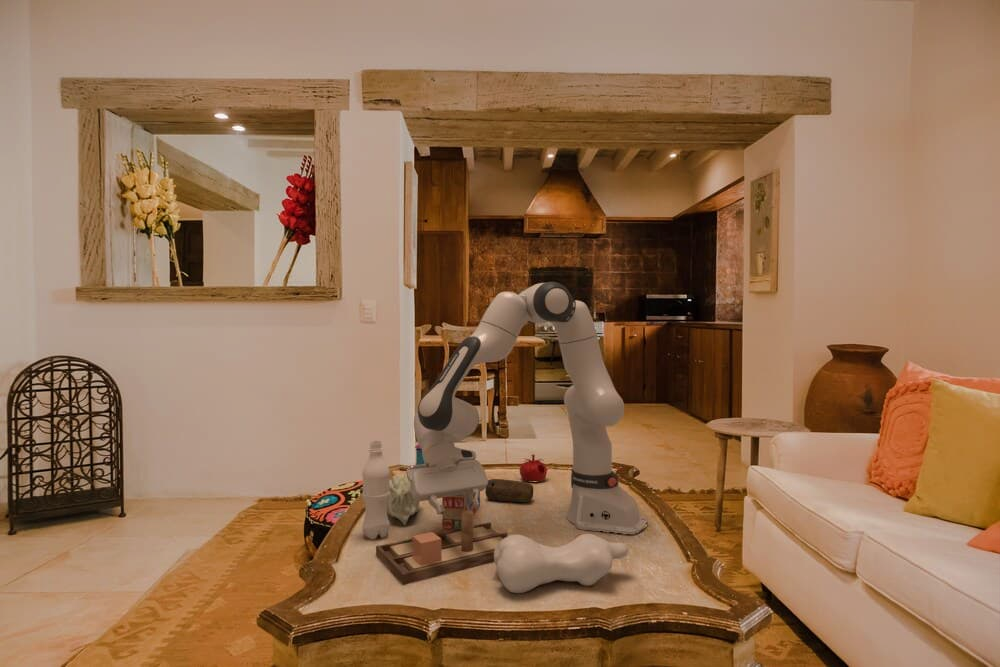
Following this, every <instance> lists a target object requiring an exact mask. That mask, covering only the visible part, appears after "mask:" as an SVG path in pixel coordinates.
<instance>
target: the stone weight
mask: <svg viewBox="0 0 1000 667" xmlns="http://www.w3.org/2000/svg"><path fill="white" fill-rule="evenodd" d="M484 490H485V496H486V498H487V499H490V500H494V501H500V502H509V503H510V502H511V503H530V501H532V499H533V497H534V486H533V485H532V484H531V483H530V482H526V481H519V480H513V479H511V480H510V479H505V478H504V479H503V478H502V479H501V478H490V479H488V484H487V486H486V488H485V489H484Z"/></svg>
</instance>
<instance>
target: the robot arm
mask: <svg viewBox="0 0 1000 667" xmlns="http://www.w3.org/2000/svg"><path fill="white" fill-rule="evenodd" d="M526 323H529V324H547V323H551V324H552V326H553V327H554V329H555V331H556V335H557V341H558V345H559V349H560V353H561V356H562V357H561V358H562V363H563V366H564V369H565V372H566V373H567V375H568V376H569V378H570V380H571V382H572V385H571V386H570V387H568V388H567V390H565V393H564V396H563V403H564V406H565V408H566V410H567V416H568V421H569V422H568V423H569V428H570V432H571V438H572V469H571V474H570V475H571V476H570V483H571V484H570V486H571V489H572V490H571V496H570V497H571V499H570V503H569V508H568V512H567V516H566V519H567V520H568V521H569V522H570V523H571V524H573V525H575V527H576V528H577V529H579V530H585V531H593V532H600V531H603V533H609V532H614V533H613V534H617V533H625V534H624V535H626V534H633V533H637V532H639V531H641V530H642V529H643V528H644V527H645V525H646V523H647V524H648V519H647V518H646V516H643V515H640V512H639V506H638V502H637V500H636V499H635V497H633V496H632V495H630V493H628V492H627V491H626V490H624V489H623V488H622V487H621V486H620V485H619V479H620V473H618V474H616V472H614V471H613V466H612V464H613V463H612V462H613V461H612V460H613V459H612V458H613V457H612V456H613V454H612V452H613V450H612V449H613V448H612V447H613V446H612V441H611V440H610V437H609V435H608V431H607V427H612V426H615V425H616V424H618V423H619V422H620V421H621V420H622V419H623V417H624V414H625V403H624V401H623V398H622V397H621V396H620V395H619V393H618V391H617V390H616V388H615V386H614V383H613V380H612V379H611V376H610V374H609V372H608V369H607V368H606V365H605V363H604V359H603V355H602V351H601V348H600V347H601V346H600V343H599V338H598V333H597V329H596V327H595V323H594V320H593V317H592V315H591V312H590V309H589V308H588V305H587V304H586V303H585V302H584V301H581V300H577V299H576V300H575V298H574V297H573V296H572V294H571V293H570V291H569V289H568V288H566V287H565V285H563V284H561V283H559V282H555V281H548V282H540V283H536V284H533V285H531V286H529V287H525V288H524V289H522V290H521V291H519V292H518V293H515V292H512V291H502V292H499V293H498V294H497V295H496V296H495V297H494V298H493V300H492V301H491V302H490V304H489V306H488V307H487V309H486V310H485V312H484V314H483V316H482V318H481V319H480V321H479V324H477V325H478V326H477V327H476V329H475V330H474V331H473V333H472V334H471V335H470V336H468V337H466V338H464V339H463V340H462V341H461V343H459V344H458V346H457V348H456V349H455V350H454V351H453V353H452V355H451V357H449V359H448V360H447V363H446V364H445V366H444V367H443V369H442V371H441V372H440V373H439V375H438V377H437V378H436V380H435V382H434V383H433V384H432V385H431V387H430V388H429V389H428V390H427V391H426V392H425V394H424V395H423V396H422V397H421V399H420V401H418V402H419V403H418V405H417V411H416V413H415V414H414V417H413V427H414V428H413V429H414V433H415V437H416V440H417V445H418V444H419V446H420V447H421V449H422V456H423V460H424V463H425V464H421V465H416V464H414V465H411V466H409V468H407V469H406V472H405V473H406V476H407V477H408V480H409V481H410V486H411V493H412V497H413V499H414V500H415V501H417V502H419V501H420V502H424V501H428V504H429V505H430V506H431V507H432V508H433V509H434V510H435V513H436V515H438V516H439V515H443V514H444V512H445V509H444V506H443V504H440V503H439V502H438V501H437V499H442V498H443V497H449V496H455V495H461V494H467V493H470V494H471V496H473V499H472V500H471V502H470V505H471V508H477V507H478V506H479V502H478V500H477V498H478V493H479V491H480V492H483V491H484V490H485V489H486V486H487V484H488V480H489V478H488V476H487V474H486V473H487V472H486V471H485V468H484V467H483V465H482V464H481V463H480V461H478V460H477V459H476V458H477V453H476V451H474V450H468V449H464V448H460V447H456V446H455V443H458V442H460V441H462V440H464V439H467V438H469V437H470V436H471V435H473V434H474V433H475V431H476V430H477V428H478V427H479V421H480V417H479V411H478V409H477V407H475V405H472V404H471V403H469V402H467V401H465V400H463V399H460V398H458V397H456V393H457V391H458V390H459V389H460V387H461V385H462V384H463V382H464V380H465V378H466V377H467V375H469V373H470V371H471V369H472V368H474V367H475V366H476V365H478V364H481V363H482V364H483V363H495V362H496V363H497V362H499V361H502V360H503V359H506V358H507V357H508V356H509V354H511V352H512V350H513V349H514V346H515V344H516V341H517V340H518V338H519V335H520V332H521V330H522V328H524V326H525V325H526ZM420 502H419V503H420ZM479 507H480V506H479ZM643 520H644V521H643Z"/></svg>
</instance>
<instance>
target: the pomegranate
mask: <svg viewBox="0 0 1000 667" xmlns="http://www.w3.org/2000/svg"><path fill="white" fill-rule="evenodd" d="M531 457H532V458H531V459H529V458H526V459H525V461H524V462H523V463H522V464H521V465H520V466H519V474H520V477H521V478H522V479H523V480H524V481H525V480H526V481H525V482H527V481H541V480H543V481H545V479H546V476H547V473H548V469H547V466H546V465H545V463H544V459H541V458H540V459H536V460H535V457H536V455H535V454H531ZM542 461H543V462H542ZM541 482H542V481H541Z"/></svg>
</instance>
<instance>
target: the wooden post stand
mask: <svg viewBox="0 0 1000 667" xmlns="http://www.w3.org/2000/svg"><path fill="white" fill-rule="evenodd" d="M473 526H474V515H473V511H470V510H465V511H462V521H461V545H460V546H456V547H452V548H447V549H443V550H441V561H438V562H434V563H430V564H425V565H420V564H419V563H418V562H417V561H416V560H415V559H414V558H413V557H408V558H404V565H405V566H406V567H407V568H408V569H409V570H410V571H411V570H415V569H420V568H424V567H428V566H432V565H436V564H440V563H444V562H448V561H452V560H456V559H461V558H465V557H469V556H473V555H477V554H481V553H485V552H489V551H493V550H495V548H496V546H497V545H498V544H499V543H500V541H501V540H503V538H502V537H500V536H499V537H495V538H491V539H486V540H482V541H478V542H473Z"/></svg>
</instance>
